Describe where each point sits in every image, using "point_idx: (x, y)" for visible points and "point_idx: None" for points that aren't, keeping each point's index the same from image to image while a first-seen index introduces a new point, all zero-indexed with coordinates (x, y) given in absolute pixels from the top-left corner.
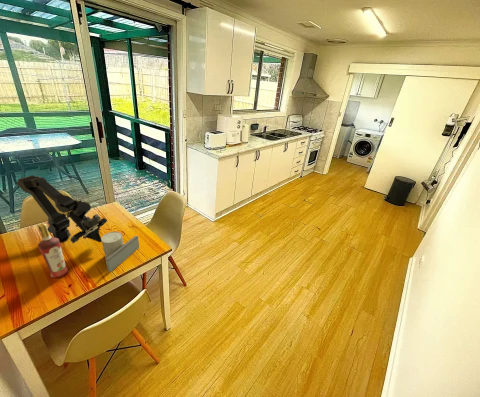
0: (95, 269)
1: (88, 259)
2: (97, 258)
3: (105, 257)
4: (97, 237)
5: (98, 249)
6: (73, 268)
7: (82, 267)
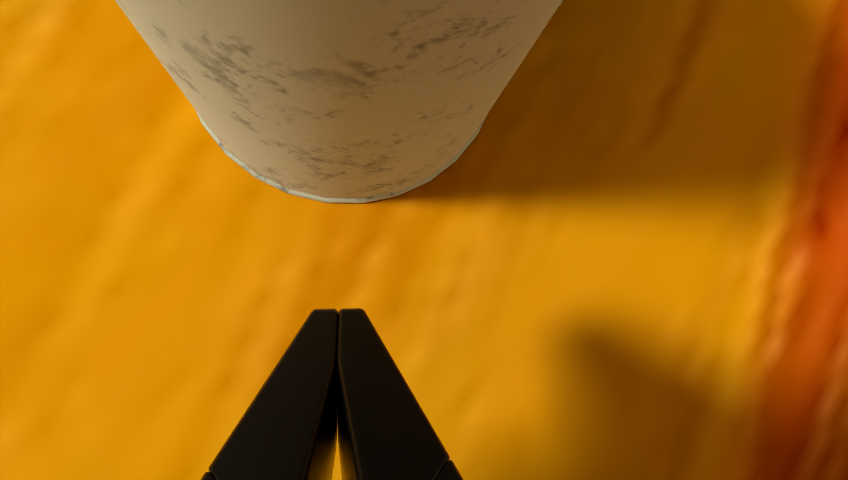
0: (703, 100)
1: (603, 380)
2: (524, 264)
3: (460, 154)
4: (371, 437)
5: None
6: (831, 408)
7: (759, 304)
